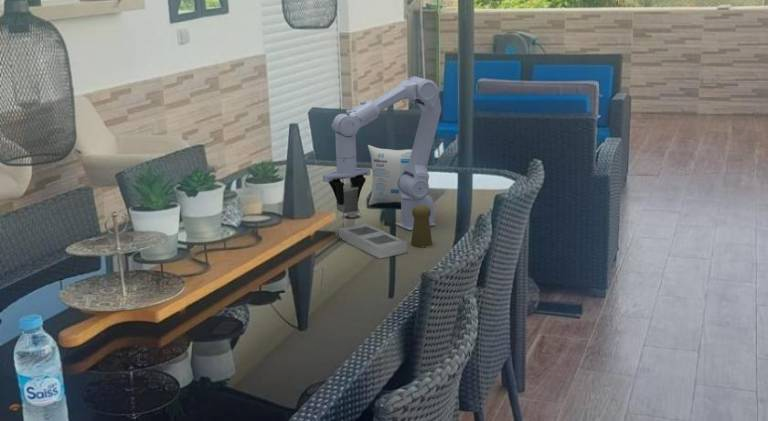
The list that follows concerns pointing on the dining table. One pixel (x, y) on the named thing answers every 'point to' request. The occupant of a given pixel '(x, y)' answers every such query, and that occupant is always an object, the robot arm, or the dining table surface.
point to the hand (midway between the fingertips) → (347, 202)
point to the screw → (353, 214)
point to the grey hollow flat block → (373, 240)
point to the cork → (421, 226)
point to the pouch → (387, 173)
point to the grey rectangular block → (349, 199)
